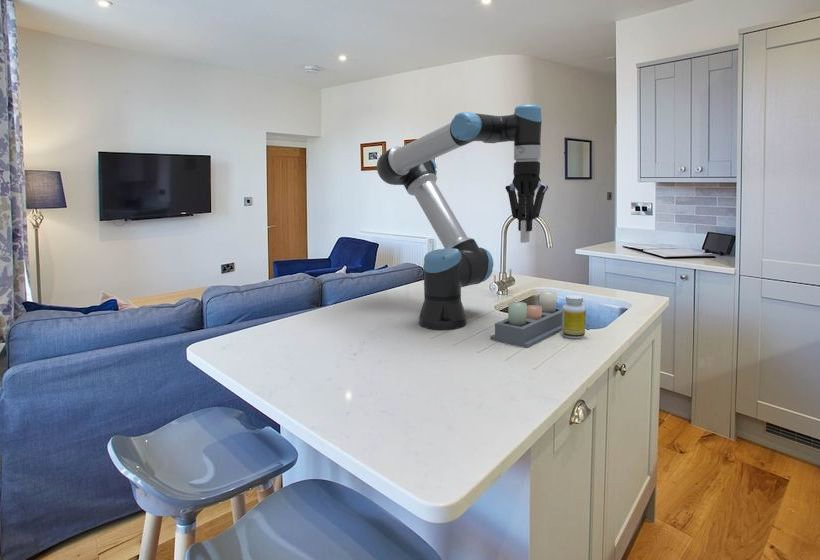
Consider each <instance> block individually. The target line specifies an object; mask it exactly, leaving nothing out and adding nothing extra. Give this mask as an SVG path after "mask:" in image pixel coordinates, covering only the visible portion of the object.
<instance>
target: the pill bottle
mask: <svg viewBox="0 0 820 560" xmlns="http://www.w3.org/2000/svg"><path fill="white" fill-rule="evenodd" d="M565 302H566V303H565V304H563V306H562V307H561V308H562V331H560V333H561V335H562V337H564V338H568V339H574V340H575V339H582V338H584V337H585V333H586V332H585V331H586V316H587V315H586V314H587V312H586V311H587V310H586V306H585V305H583V302H584V297H583V296H581V295H577V294H576V295H575V294H572V295H571V294H569V295H566V296H565Z"/></svg>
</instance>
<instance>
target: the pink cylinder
mask: <svg viewBox="0 0 820 560" xmlns="http://www.w3.org/2000/svg"><path fill="white" fill-rule="evenodd" d="M526 318H529V319H535V320H538V319H541V318H542V307H541V306H539V305H533V304H530V305H529V304H528V305H527V314H526Z"/></svg>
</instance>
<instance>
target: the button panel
mask: <svg viewBox="0 0 820 560" xmlns="http://www.w3.org/2000/svg"><path fill="white" fill-rule="evenodd" d="M561 331H562V307H561V308H560V307H556V312H554V313H552V314H551V313H545V312H542V318H541V319H538V320H535V319H529V318H526V325H524V326H522V327H519V326H514V325H509V324H508V317H507V318H505V319H503V320H500V321H498V322H495V323H494V334H492V335H490V336H489V340H492V341H495V342H501V343H503V344H504V343H505V344H510V345H513V346H519V347H523V348H526V349H527V348H530V347H533V346H535V345H536V344H539V343H541V342H542V341H544V340H546V339H548V338H550V337H552V336H554V335H556V334H558V333H561Z"/></svg>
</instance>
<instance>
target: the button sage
mask: <svg viewBox="0 0 820 560" xmlns="http://www.w3.org/2000/svg"><path fill="white" fill-rule="evenodd" d="M527 306H528V305H527V302H522V301H511V302H509V303H508V307H507V308H508V313H507V314H508V315H507V316H508V317H507V318H508V324H509V325H514V326H519V327H522V326H524V325H526V314H527Z"/></svg>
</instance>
